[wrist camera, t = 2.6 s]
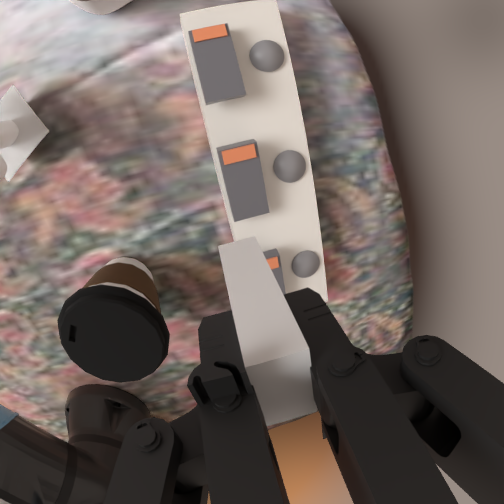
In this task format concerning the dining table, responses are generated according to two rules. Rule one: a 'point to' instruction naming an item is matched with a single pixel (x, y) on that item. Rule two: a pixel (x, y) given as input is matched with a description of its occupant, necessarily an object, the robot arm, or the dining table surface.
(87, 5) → the spread jar
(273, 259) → the rocker
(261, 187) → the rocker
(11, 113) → the figurine
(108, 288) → the coffee cup
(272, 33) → the power strip
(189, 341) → the dining table surface
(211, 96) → the grey flat rectangular block
